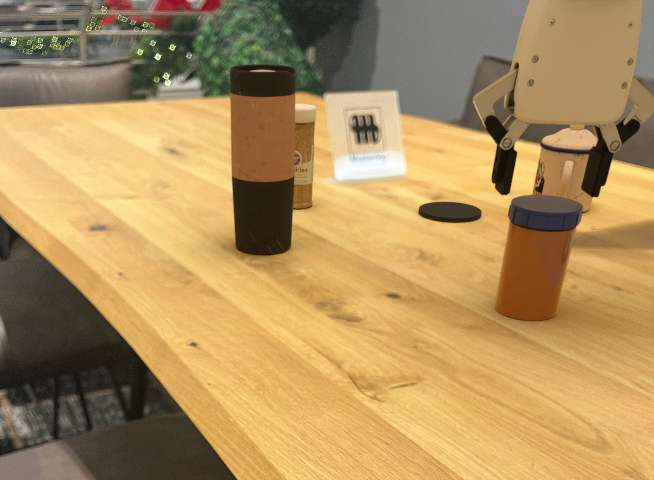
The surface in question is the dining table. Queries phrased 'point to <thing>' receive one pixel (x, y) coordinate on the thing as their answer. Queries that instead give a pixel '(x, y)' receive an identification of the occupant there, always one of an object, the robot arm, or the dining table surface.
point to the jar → (533, 272)
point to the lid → (545, 212)
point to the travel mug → (263, 156)
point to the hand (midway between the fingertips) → (545, 191)
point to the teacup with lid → (565, 164)
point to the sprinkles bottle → (304, 154)
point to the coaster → (450, 211)
